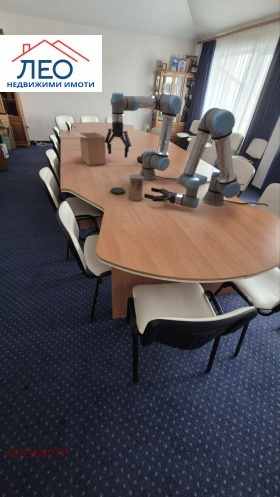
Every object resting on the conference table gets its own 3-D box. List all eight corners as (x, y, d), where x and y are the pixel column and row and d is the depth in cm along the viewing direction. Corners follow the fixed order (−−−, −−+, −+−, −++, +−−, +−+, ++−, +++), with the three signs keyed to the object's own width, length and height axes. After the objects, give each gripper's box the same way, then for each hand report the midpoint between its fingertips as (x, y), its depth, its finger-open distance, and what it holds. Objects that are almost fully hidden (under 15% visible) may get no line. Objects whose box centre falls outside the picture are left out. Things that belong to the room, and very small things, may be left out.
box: (116, 165, 229) (116, 136, 213) (83, 168, 214) (80, 137, 198) (102, 154, 259) (101, 128, 243) (71, 156, 244) (68, 129, 228)
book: (192, 177, 213) (193, 172, 210) (206, 182, 204) (207, 177, 201) (177, 182, 200) (178, 176, 197) (192, 187, 191) (193, 182, 188)
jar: (126, 197, 166) (126, 176, 156) (135, 194, 172) (136, 173, 162) (135, 201, 161) (136, 179, 151) (144, 198, 167) (146, 176, 157)
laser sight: (156, 165, 238) (157, 155, 232) (135, 163, 241) (136, 153, 235) (157, 163, 245) (158, 153, 240) (137, 160, 248) (138, 151, 242)
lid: (127, 191, 175) (127, 189, 174) (119, 195, 168) (119, 193, 167) (116, 188, 180) (116, 186, 179) (107, 192, 172) (107, 190, 171)
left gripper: (98, 119, 146) (100, 153, 159) (131, 124, 138) (130, 159, 151) (105, 118, 152) (106, 151, 165) (137, 123, 144) (135, 157, 156)
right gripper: (170, 210, 147) (141, 203, 153) (179, 197, 166) (153, 191, 172) (171, 200, 142) (141, 193, 148) (181, 187, 161) (154, 182, 167)
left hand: (117, 155), depth 158 cm, fingers open, 13 cm apart
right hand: (148, 192), depth 160 cm, fingers open, 13 cm apart
